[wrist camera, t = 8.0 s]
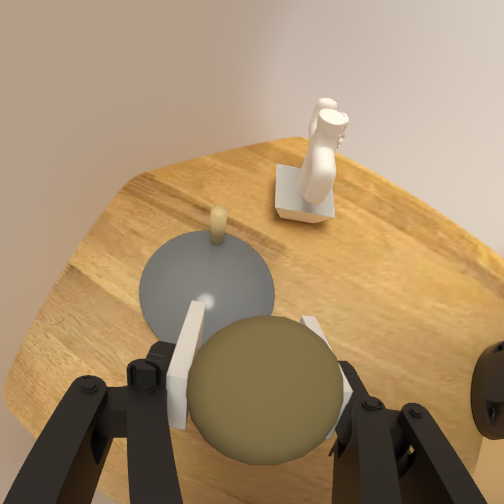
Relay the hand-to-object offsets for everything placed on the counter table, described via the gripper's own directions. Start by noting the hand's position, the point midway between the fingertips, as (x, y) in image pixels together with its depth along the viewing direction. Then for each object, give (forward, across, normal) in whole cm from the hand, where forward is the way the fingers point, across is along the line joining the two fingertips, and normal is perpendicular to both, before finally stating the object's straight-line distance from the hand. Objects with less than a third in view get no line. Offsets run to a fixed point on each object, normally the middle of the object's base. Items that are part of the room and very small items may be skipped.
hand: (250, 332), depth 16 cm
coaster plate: (+15, -3, -4) cm, 16 cm away
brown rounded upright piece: (0, 0, -5) cm, 5 cm away
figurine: (+25, +6, +5) cm, 26 cm away
